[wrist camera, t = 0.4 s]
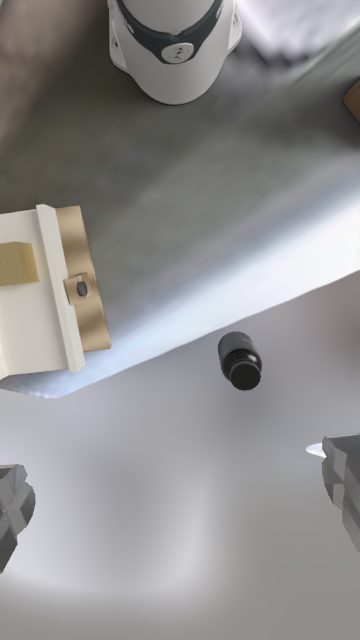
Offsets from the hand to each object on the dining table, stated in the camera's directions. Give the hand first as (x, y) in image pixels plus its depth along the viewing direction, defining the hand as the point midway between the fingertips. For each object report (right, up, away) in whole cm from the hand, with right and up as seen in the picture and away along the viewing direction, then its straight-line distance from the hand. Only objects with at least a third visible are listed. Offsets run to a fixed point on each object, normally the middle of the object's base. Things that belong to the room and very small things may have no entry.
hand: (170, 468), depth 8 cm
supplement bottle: (+11, -1, +48) cm, 50 cm away
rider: (-26, +13, +38) cm, 48 cm away
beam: (-25, +8, +40) cm, 48 cm away
